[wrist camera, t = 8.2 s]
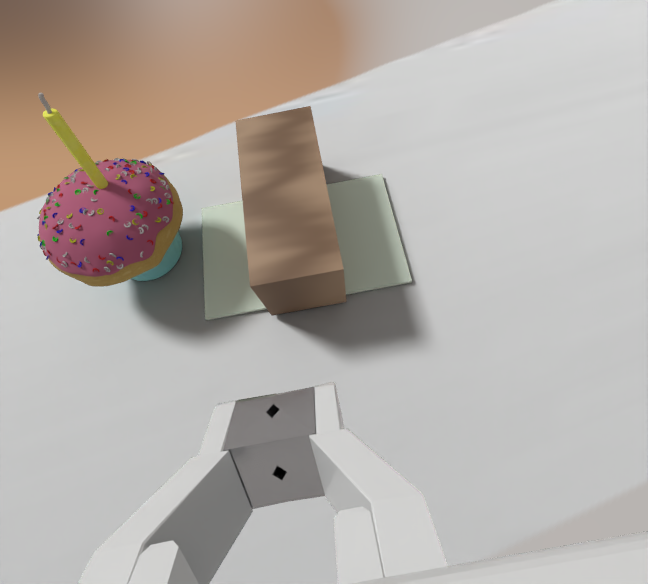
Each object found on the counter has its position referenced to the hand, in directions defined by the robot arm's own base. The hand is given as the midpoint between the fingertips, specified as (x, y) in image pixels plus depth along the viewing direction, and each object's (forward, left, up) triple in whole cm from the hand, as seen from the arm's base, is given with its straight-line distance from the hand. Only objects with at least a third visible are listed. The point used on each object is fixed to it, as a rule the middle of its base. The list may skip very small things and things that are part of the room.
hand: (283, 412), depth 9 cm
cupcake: (-11, +14, -13) cm, 22 cm away
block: (0, +7, -10) cm, 12 cm away
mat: (0, +12, -12) cm, 17 cm away
